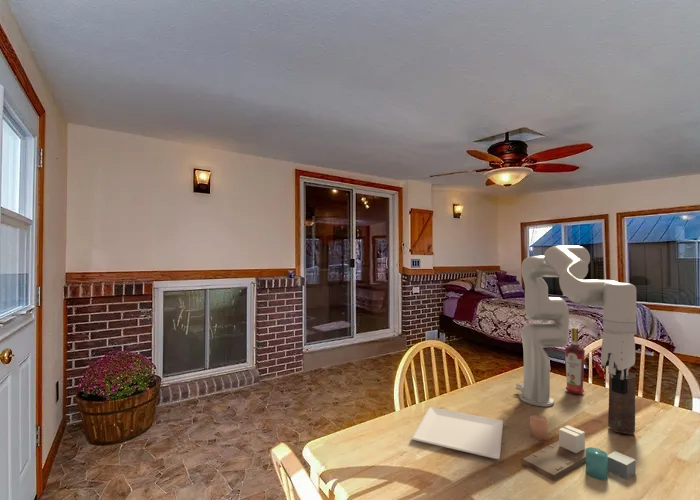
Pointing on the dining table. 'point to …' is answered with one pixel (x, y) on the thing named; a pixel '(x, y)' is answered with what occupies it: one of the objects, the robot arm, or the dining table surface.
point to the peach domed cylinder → (538, 427)
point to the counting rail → (554, 461)
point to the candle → (622, 407)
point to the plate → (461, 432)
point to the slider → (572, 439)
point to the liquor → (574, 365)
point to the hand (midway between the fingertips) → (619, 392)
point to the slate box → (621, 465)
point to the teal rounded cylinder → (596, 463)
